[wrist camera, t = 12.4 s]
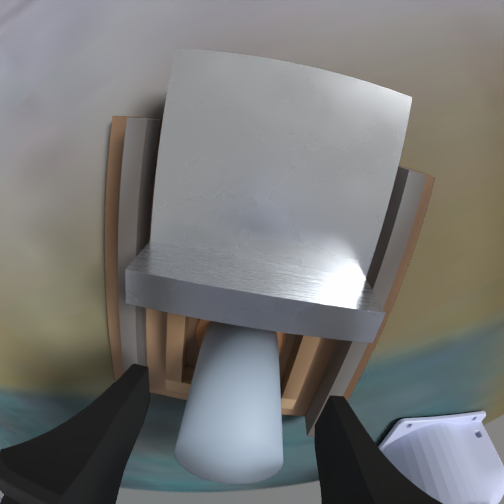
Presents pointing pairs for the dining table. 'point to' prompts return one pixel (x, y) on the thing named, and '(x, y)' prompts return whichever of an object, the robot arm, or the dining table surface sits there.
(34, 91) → the dining table surface
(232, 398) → the light blue rounded cylinder
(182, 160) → the cover
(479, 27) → the dining table surface
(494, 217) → the dining table surface
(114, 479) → the robot arm
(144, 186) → the wooden square tray
